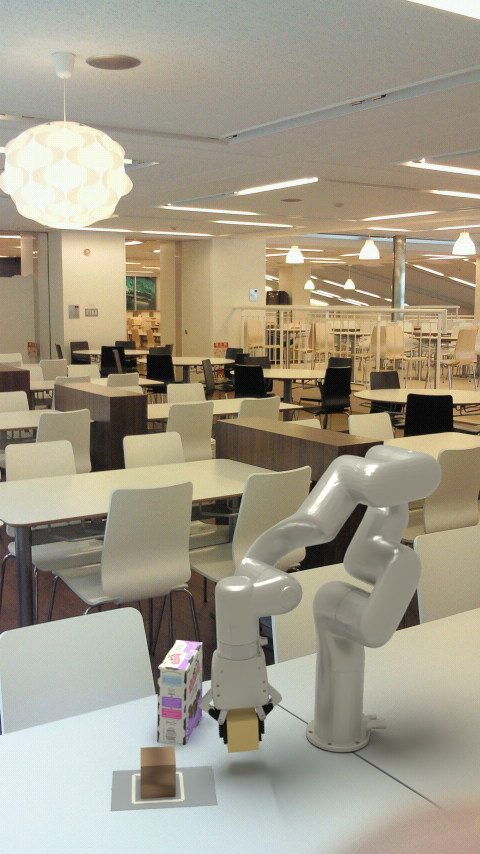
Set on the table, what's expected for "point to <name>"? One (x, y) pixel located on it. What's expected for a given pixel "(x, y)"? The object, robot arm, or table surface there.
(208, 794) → the board
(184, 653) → the candy box
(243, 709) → the ochre block
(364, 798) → the table surface
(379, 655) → the table surface
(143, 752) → the walnut block
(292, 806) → the table surface
